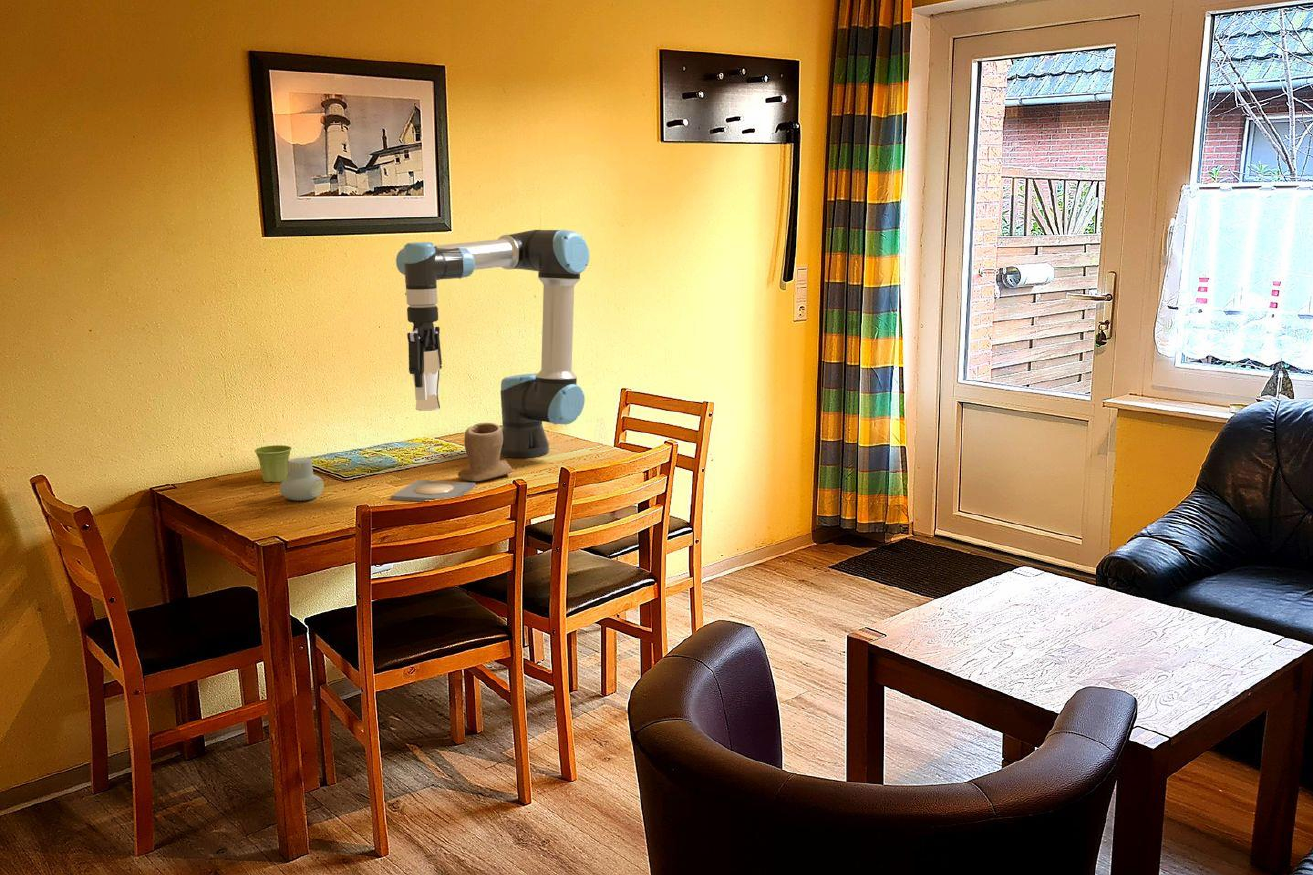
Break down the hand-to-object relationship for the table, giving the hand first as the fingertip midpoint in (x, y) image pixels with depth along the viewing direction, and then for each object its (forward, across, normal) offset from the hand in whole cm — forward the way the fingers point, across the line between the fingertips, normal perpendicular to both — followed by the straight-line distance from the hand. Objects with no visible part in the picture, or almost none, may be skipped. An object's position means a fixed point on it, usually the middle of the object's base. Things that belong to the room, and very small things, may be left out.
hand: (427, 397), depth 284 cm
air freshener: (+25, +12, -30) cm, 41 cm away
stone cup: (+25, -17, +8) cm, 32 cm away
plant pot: (+25, -3, -48) cm, 54 cm away
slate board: (+25, 0, 0) cm, 25 cm away
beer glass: (+3, 0, 0) cm, 3 cm away
